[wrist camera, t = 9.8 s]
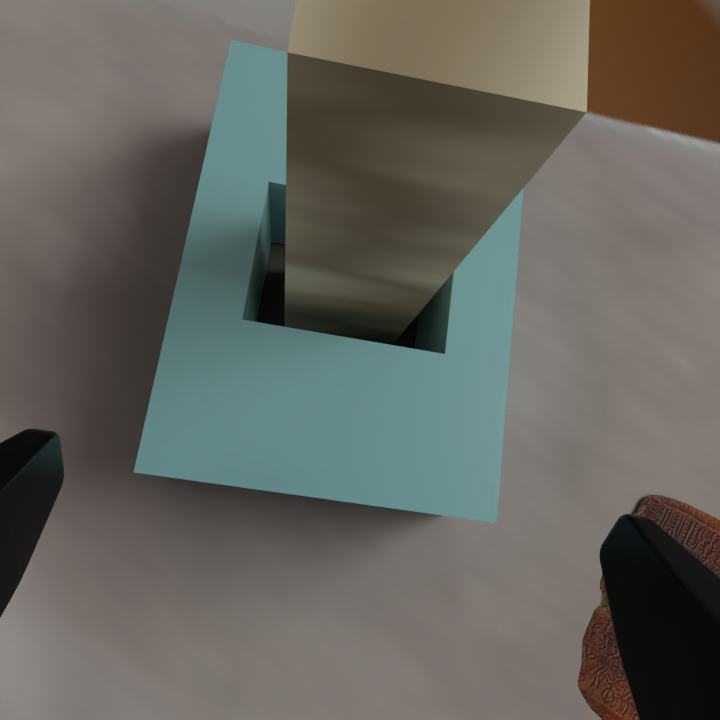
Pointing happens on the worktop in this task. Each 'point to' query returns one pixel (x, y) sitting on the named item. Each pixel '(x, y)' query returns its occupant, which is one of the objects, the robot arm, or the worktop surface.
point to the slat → (414, 144)
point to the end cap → (321, 348)
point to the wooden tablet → (599, 650)
